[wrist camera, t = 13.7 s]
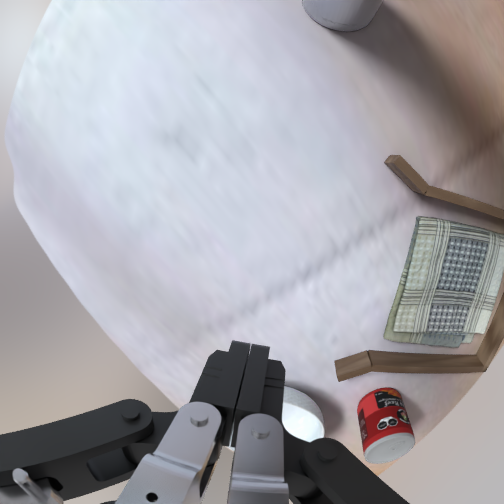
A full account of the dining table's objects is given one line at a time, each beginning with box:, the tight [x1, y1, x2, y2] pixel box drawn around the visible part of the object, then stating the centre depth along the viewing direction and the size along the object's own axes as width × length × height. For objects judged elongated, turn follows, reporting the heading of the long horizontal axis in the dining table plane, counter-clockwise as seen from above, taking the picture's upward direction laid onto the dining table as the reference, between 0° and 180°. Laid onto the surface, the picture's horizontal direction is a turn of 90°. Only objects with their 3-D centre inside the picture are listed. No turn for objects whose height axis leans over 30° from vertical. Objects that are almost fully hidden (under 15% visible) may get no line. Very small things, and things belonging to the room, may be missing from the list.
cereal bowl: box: [227, 386, 325, 451], centre depth 41 cm, size 17×17×7 cm
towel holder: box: [335, 155, 504, 382], centre depth 32 cm, size 30×28×4 cm
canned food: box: [357, 388, 415, 464], centre depth 36 cm, size 8×8×11 cm
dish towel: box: [384, 216, 504, 347], centre depth 33 cm, size 19×18×3 cm
